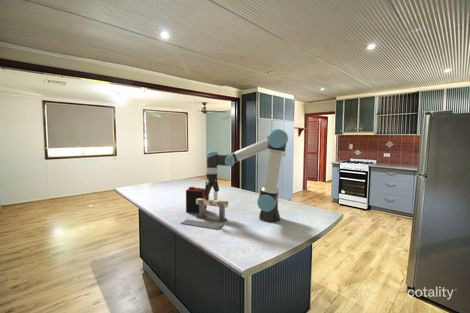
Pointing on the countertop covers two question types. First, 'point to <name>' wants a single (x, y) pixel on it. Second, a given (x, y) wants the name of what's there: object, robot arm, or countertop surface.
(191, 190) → the red coffee machine
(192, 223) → the mat
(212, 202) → the rail
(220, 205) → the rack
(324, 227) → the countertop surface
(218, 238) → the countertop surface
